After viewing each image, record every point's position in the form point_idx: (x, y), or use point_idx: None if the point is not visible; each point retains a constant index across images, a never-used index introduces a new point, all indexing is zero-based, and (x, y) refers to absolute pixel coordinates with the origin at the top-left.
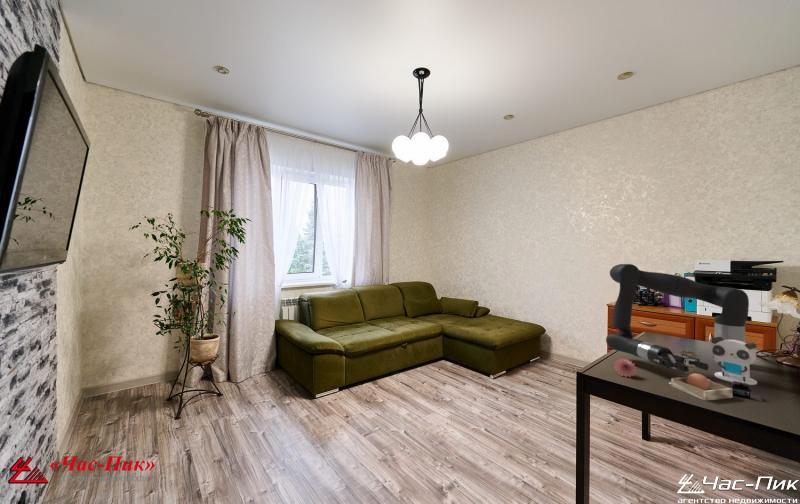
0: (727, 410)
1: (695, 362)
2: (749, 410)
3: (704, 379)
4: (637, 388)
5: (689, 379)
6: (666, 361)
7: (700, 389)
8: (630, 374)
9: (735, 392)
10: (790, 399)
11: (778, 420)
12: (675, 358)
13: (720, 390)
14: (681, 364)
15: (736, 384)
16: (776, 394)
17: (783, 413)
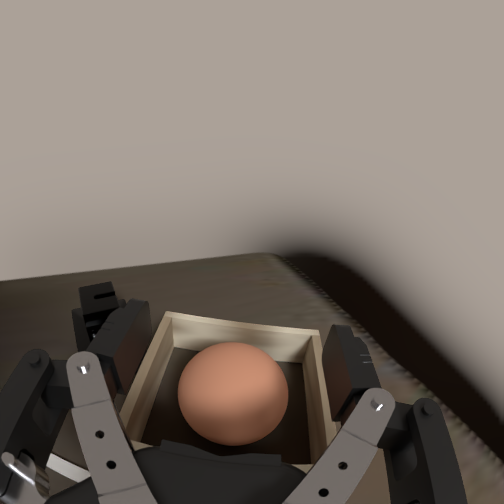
0: (304, 311)
1: (110, 372)
2: (237, 296)
3: (244, 343)
4: (486, 457)
5: (287, 399)
6: (441, 412)
7: (318, 345)
8: None
9: None
10: (42, 278)
11: (232, 266)
12: (243, 487)
13: (234, 322)
14: (358, 352)
15: (118, 303)
16: (22, 295)
17: (171, 270)
